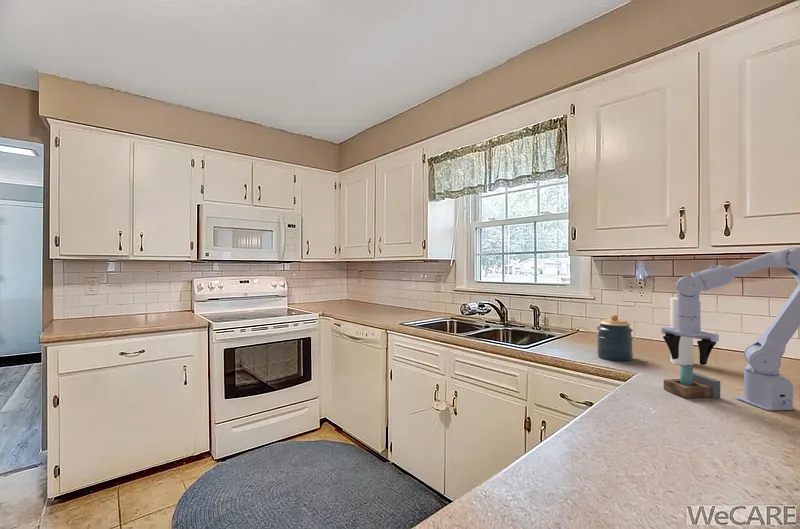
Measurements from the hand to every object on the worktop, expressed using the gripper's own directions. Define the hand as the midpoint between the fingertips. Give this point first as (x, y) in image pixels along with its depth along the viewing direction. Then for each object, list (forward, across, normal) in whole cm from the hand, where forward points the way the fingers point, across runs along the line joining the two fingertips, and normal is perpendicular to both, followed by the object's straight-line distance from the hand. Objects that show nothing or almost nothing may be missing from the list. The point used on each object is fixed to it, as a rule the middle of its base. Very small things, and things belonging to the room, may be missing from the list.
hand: (688, 361), depth 117 cm
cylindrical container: (+10, +21, -35) cm, 41 cm away
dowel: (+9, 0, +1) cm, 10 cm away
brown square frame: (+9, 0, +1) cm, 10 cm away
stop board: (+9, -2, -3) cm, 10 cm away
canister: (+10, +38, -20) cm, 44 cm away
